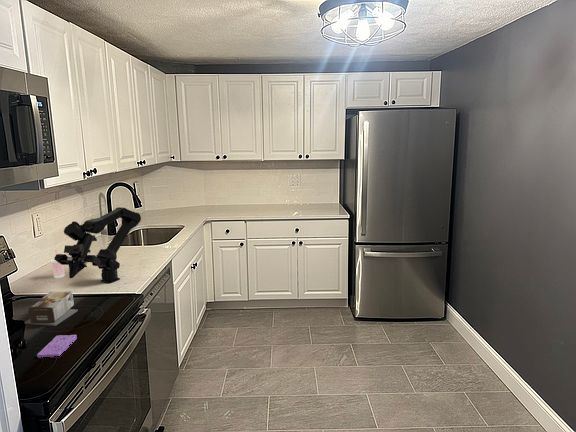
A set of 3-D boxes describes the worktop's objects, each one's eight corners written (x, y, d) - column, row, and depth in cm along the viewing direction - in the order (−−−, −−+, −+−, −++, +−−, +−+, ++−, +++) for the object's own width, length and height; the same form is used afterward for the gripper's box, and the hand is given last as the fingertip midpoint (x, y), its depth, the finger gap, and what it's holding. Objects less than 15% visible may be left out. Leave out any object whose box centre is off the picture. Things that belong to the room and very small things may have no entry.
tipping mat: (48, 309, 170) (48, 307, 170) (77, 310, 168) (77, 309, 168) (24, 323, 158) (24, 322, 158) (55, 325, 156) (55, 324, 156)
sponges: (77, 339, 146) (76, 334, 146) (59, 359, 134) (58, 353, 134) (57, 340, 146) (56, 335, 146) (37, 359, 134) (36, 354, 134)
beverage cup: (56, 274, 211) (52, 248, 208) (68, 274, 211) (65, 247, 208) (50, 278, 205) (46, 251, 202) (63, 278, 205) (59, 251, 203)
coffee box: (52, 305, 172) (29, 323, 157) (50, 291, 171) (27, 307, 155) (74, 305, 172) (54, 322, 157) (72, 290, 171) (52, 307, 155)
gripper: (53, 236, 179) (39, 269, 171) (93, 237, 177) (80, 270, 169) (68, 248, 189) (55, 280, 181) (106, 249, 186) (94, 281, 178)
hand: (70, 278), depth 177 cm, fingers closed
